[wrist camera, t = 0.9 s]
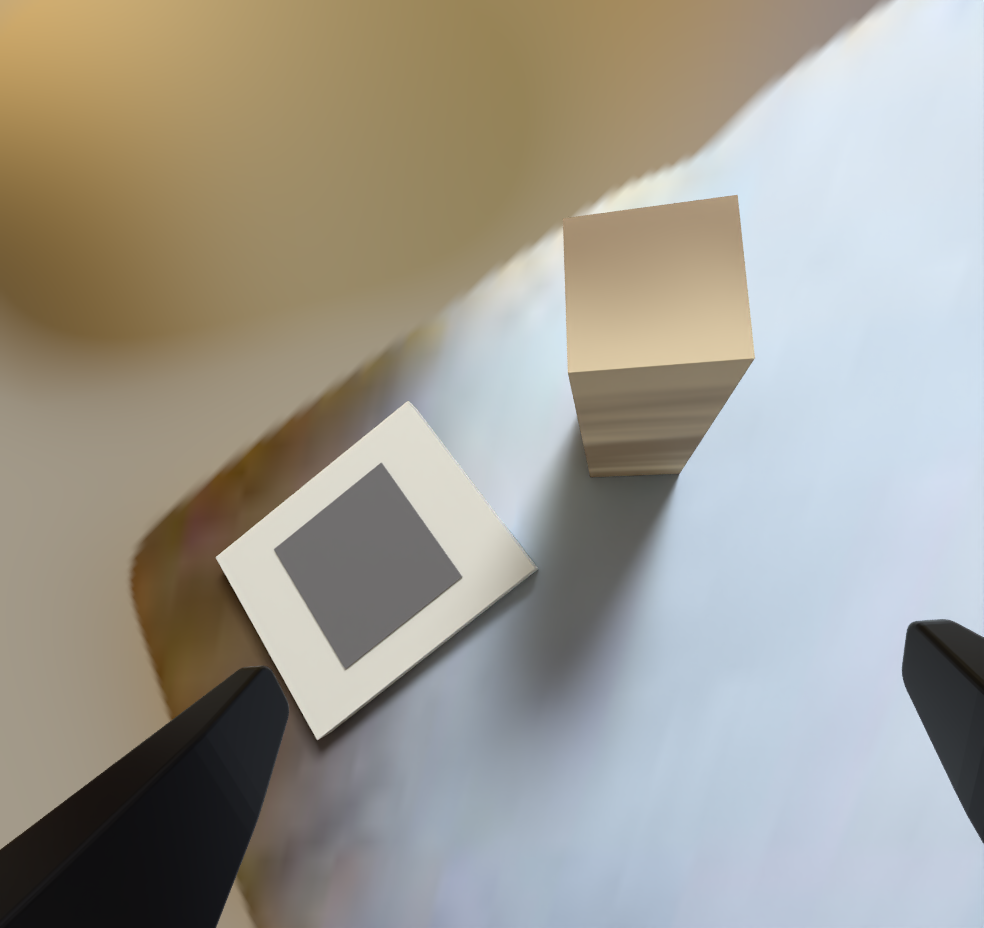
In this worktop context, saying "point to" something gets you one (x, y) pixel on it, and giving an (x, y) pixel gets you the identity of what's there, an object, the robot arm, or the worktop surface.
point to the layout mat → (371, 568)
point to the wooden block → (654, 330)
